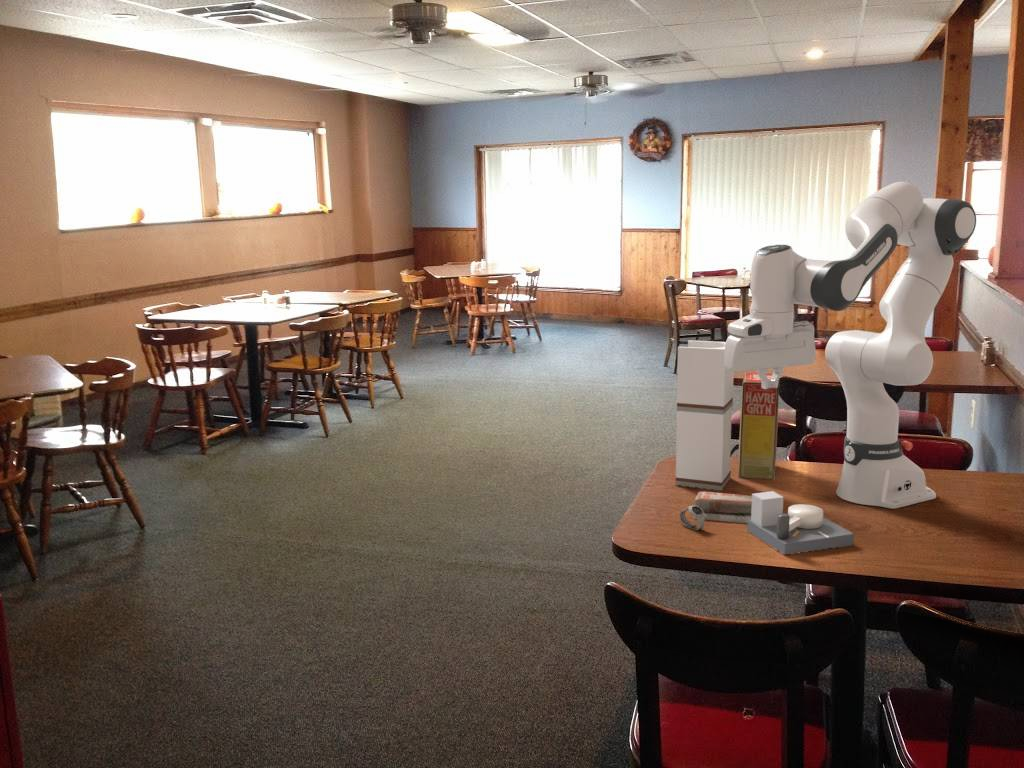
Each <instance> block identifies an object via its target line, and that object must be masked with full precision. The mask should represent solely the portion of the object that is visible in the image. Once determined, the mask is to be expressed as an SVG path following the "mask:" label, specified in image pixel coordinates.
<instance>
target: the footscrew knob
mask: <svg viewBox="0 0 1024 768" xmlns="http://www.w3.org/2000/svg"><path fill="white" fill-rule="evenodd" d="M823 517H824V510H823V509H822V508H821V507H819V506H816V505H812V504H803V503H799V504H791V505H790V506H789V507H788V509H787V513H779V514H777V537H778V538H783V539H785V538H789V531H791V530H792V529H794V528H796V527H798V528H805V529H814V528H819V527H821V526H822V525H823Z"/></svg>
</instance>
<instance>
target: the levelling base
mask: <svg viewBox="0 0 1024 768" xmlns="http://www.w3.org/2000/svg"><path fill="white" fill-rule="evenodd" d="M751 496H752V510H751V520H748V523H747V528H746V529H747V532H749V533H750V534H751V533H752V534H751V535H753V536H754V535H755V536H754V537H756V538H757V537H758V538H757V539H759V538H760V539H761V540H760V539H759V540H760V541H762V540H763V541H764V542H763V541H762V542H763V543H765V542H766V543H767V544H766V543H765V544H766V545H768V544H769V545H771V546H773V547H774V548H776V549H777V550H779V551H780V552H781V553H783V554H791V555H793V554H792V553H798V552H805V553H807V552H806V551H812V552H815V551H814V550H818V551H822V550H821V549H825V550H828V549H827V548H832V549H837V548H836V547H838V548H845V547H849V546H850V547H851V546H854V537H855V535H854V533H853V532H851V531H849V530H847V529H846V528H844V527H842V526H840V525H839V524H837V523H834V522H833V521H831V520H829V519H828V518H826V517H824V516H823V525H822V526H821V527H819V528H814V529H805V528H798V527H796V528H794V529H792V530H791V531H789V538H785V539H783V538H778V537H777V514H779V513H783V512H784V511H783V510H784V496H782V495H781V494H778V493H777V492H775V491H774V490H772V491H764V492H756V493H751ZM769 545H768V546H769ZM771 546H770V547H771ZM774 548H773V549H774ZM777 550H776V551H777ZM780 552H779V553H780ZM781 553H780V554H781ZM783 554H782V555H783ZM798 554H799V553H798Z"/></svg>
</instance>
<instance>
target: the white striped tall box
mask: <svg viewBox="0 0 1024 768" xmlns="http://www.w3.org/2000/svg"><path fill="white" fill-rule="evenodd" d="M725 344H726V341H713V340H712V341H710V340H690V339H689V340H687V346H677V380H676V382H677V384H676V385H677V386H676V388H677V389H676V433H675V434H676V438H675V439H676V443H675V445H676V446H675V450H676V451H675V486H678V485H681V486H680V487H686V486H689V487H688V488H695V487H698V488H697V489H703V488H706V489H705V490H711V489H714V490H713V491H720V490H722V491H723V490H724V488H725V486H726V485H727V484H726V483H728V482H729V481H730V480H731V478H730V477H731V474H732V470H731V446H732V443H731V442H732V441H731V440H732V412H733V410H734V409H733V407H734V406H733V405H734V404H733V403H734V378H735V377H734V374H735V372H733V371H730V370H728V369H727V368H726V367H725V365H724V353H725ZM728 480H729V481H728ZM723 487H724V488H723ZM715 489H716V490H715Z"/></svg>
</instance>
